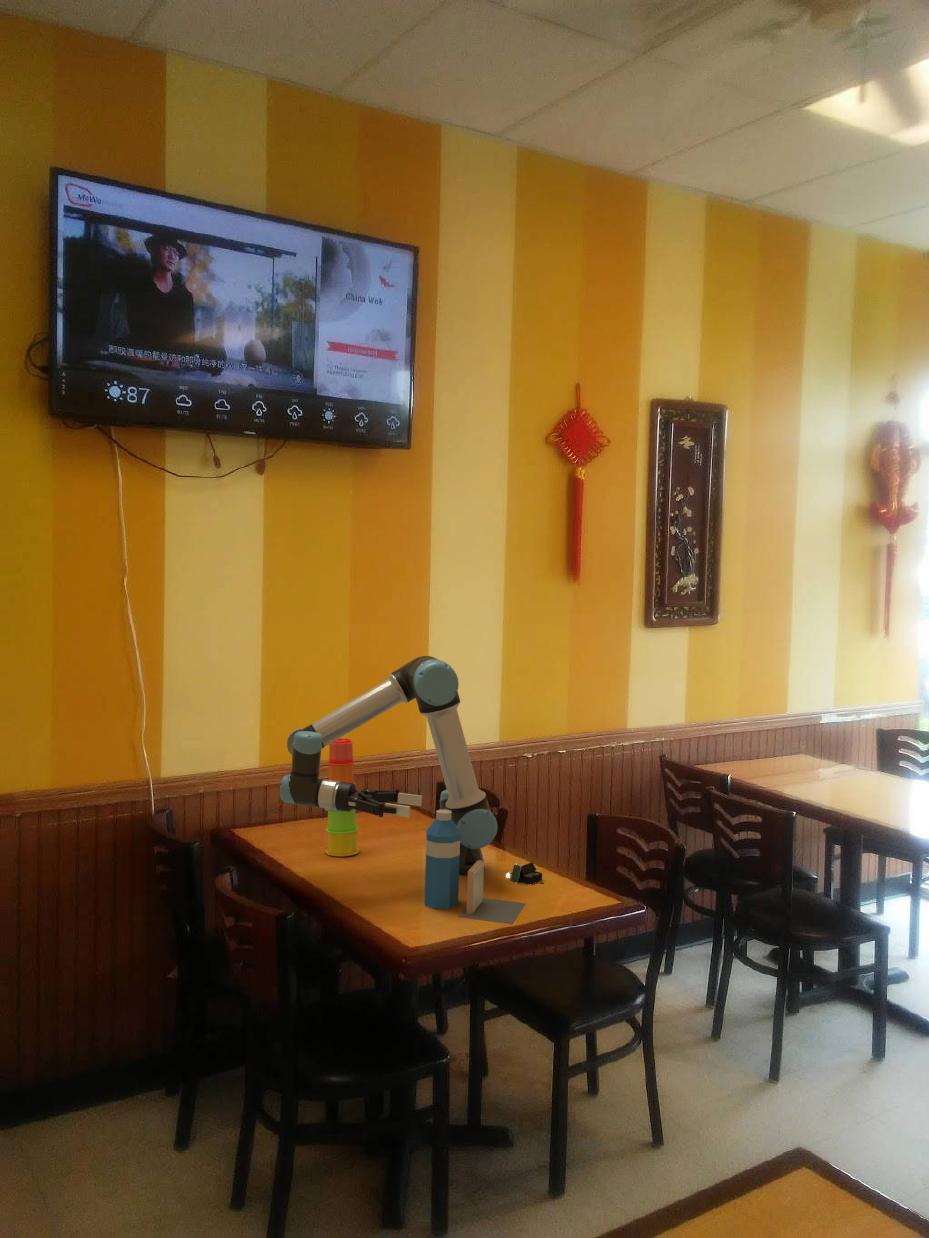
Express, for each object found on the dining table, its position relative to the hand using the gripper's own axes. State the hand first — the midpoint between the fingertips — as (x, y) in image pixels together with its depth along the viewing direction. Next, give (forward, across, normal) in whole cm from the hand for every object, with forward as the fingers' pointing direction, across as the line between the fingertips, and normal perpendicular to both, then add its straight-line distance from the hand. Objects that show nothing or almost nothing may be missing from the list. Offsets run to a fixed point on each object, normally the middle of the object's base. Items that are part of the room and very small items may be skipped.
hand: (415, 806), depth 268 cm
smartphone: (+29, -27, -24) cm, 46 cm away
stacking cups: (-30, -38, -26) cm, 55 cm away
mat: (+23, +1, -24) cm, 33 cm away
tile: (+18, +1, -24) cm, 30 cm away
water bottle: (+9, 0, -25) cm, 27 cm away
